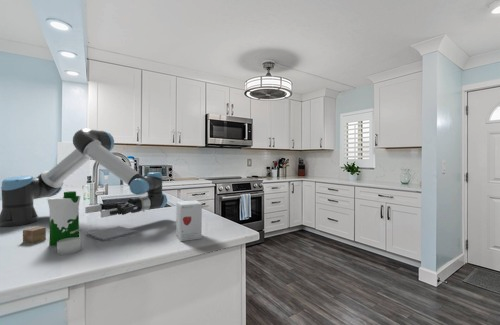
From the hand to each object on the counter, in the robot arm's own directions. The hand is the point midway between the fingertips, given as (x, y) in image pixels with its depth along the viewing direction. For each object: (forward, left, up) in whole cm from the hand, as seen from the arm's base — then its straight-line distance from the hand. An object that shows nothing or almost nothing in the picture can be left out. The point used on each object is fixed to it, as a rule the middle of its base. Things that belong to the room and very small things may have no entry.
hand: (93, 212), depth 107 cm
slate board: (+5, +5, -10) cm, 12 cm away
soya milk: (0, -10, -10) cm, 15 cm away
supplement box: (+36, +21, -10) cm, 43 cm away
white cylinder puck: (+12, -14, -10) cm, 21 cm away
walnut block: (-12, -17, -10) cm, 23 cm away
